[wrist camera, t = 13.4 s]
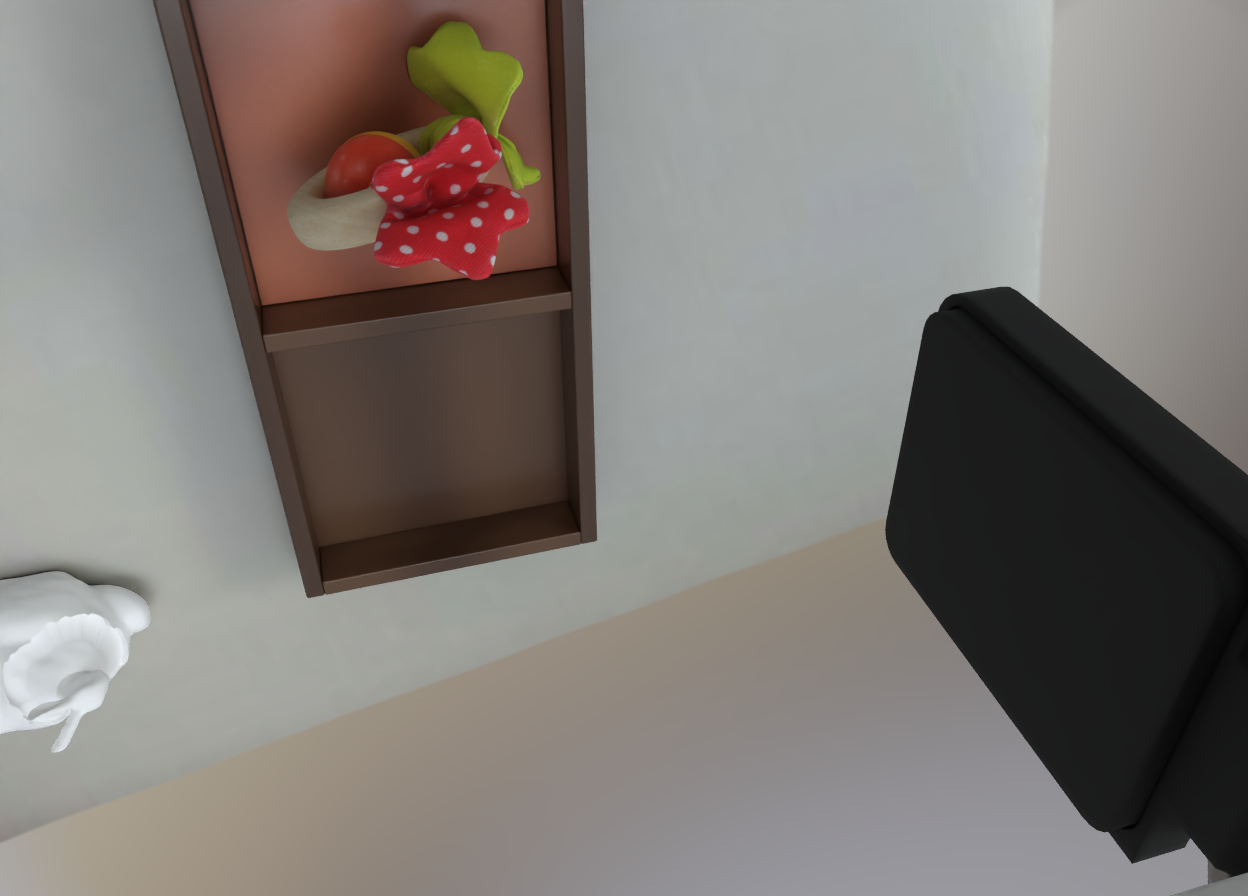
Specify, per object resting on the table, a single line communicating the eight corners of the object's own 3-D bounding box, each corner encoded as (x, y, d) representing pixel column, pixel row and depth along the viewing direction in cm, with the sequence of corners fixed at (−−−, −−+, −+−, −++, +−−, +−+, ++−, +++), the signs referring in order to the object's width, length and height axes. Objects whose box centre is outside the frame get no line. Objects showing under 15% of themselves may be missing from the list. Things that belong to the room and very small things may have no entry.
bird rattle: (392, 212, 42) (595, 145, 39) (308, 395, 35) (552, 329, 32) (304, 73, 38) (521, -14, 35) (186, 244, 31) (451, 152, 28)
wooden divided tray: (560, -75, 37) (582, -58, 34) (581, 503, 52) (597, 541, 50) (151, -50, 34) (144, -30, 31) (304, 555, 49) (306, 599, 47)
